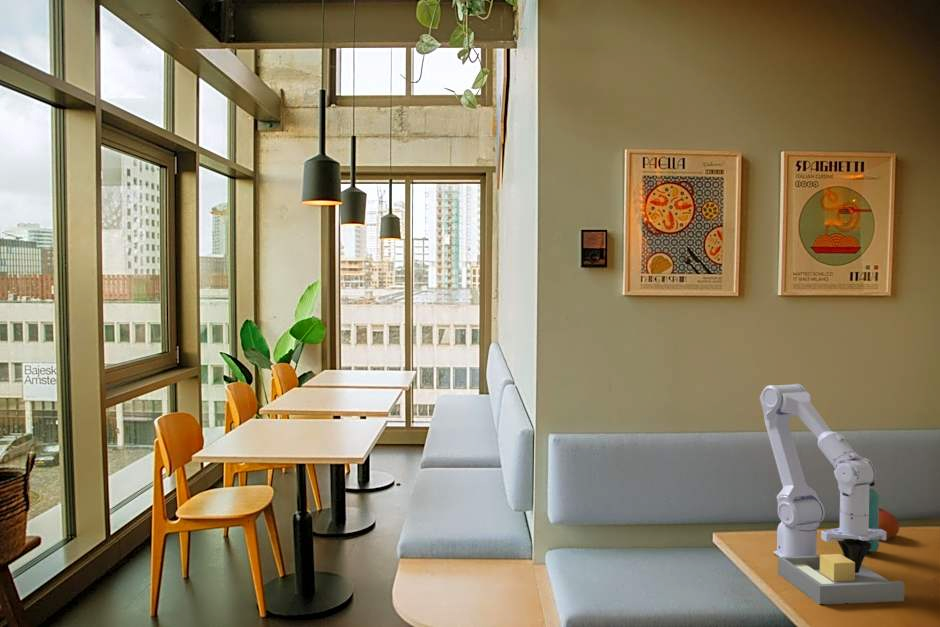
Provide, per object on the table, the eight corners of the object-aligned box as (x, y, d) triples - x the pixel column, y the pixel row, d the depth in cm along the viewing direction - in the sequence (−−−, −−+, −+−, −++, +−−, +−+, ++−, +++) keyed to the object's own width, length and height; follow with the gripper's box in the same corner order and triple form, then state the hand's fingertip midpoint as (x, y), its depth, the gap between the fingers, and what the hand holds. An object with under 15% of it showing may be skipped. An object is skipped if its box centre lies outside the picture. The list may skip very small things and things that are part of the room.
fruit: (905, 544, 175) (906, 514, 175) (869, 541, 177) (869, 512, 177) (890, 532, 184) (890, 504, 184) (855, 530, 186) (856, 502, 185)
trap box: (777, 573, 156) (778, 556, 156) (854, 570, 158) (854, 554, 158) (819, 604, 140) (820, 586, 140) (904, 601, 142) (904, 582, 142)
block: (819, 571, 151) (819, 554, 151) (839, 571, 152) (840, 553, 152) (833, 581, 146) (834, 563, 146) (854, 580, 147) (855, 562, 147)
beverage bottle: (883, 553, 169) (885, 476, 168) (871, 559, 165) (872, 480, 164) (857, 545, 174) (858, 471, 174) (844, 551, 170) (846, 474, 170)
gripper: (835, 519, 144) (834, 579, 145) (896, 517, 146) (895, 577, 146) (815, 508, 151) (814, 566, 152) (874, 507, 153) (873, 564, 153)
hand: (853, 571), depth 149 cm, fingers closed
